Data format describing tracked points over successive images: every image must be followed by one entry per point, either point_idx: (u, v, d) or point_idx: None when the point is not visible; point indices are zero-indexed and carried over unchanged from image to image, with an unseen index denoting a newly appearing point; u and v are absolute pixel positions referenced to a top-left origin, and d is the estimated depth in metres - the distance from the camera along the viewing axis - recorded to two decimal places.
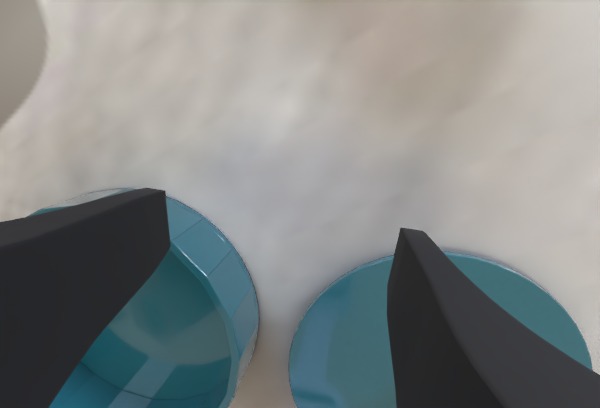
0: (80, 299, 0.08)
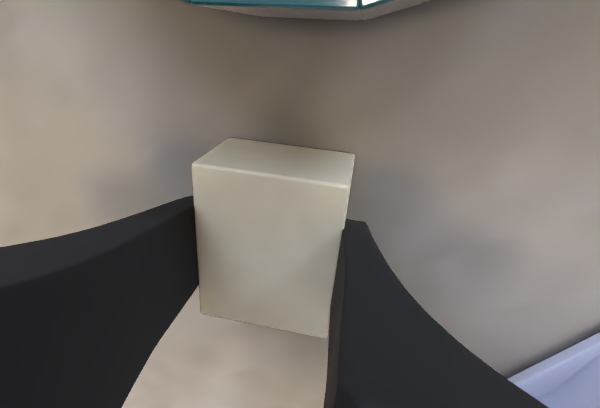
0: (141, 312, 0.08)
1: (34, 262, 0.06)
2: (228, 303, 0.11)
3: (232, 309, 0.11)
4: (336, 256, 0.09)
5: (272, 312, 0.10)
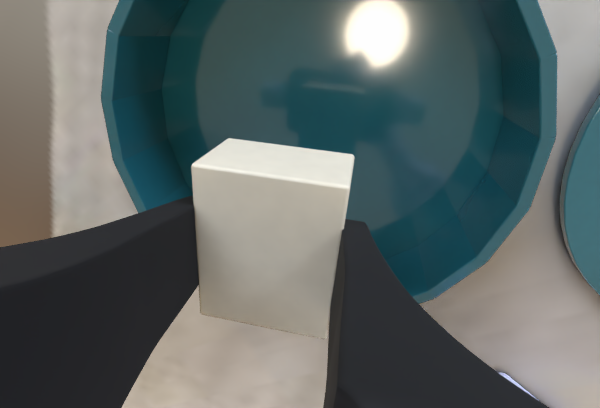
0: (141, 312, 0.08)
1: (34, 262, 0.06)
2: (228, 304, 0.11)
3: (232, 310, 0.11)
4: (336, 257, 0.09)
5: (272, 313, 0.10)
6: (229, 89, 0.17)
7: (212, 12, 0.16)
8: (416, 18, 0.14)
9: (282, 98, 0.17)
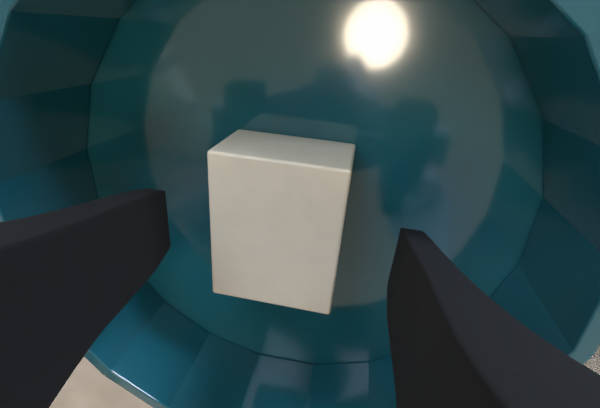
0: (80, 299, 0.08)
1: None
2: (238, 282, 0.11)
3: (243, 288, 0.11)
4: (338, 236, 0.10)
5: (279, 290, 0.11)
6: (173, 152, 0.13)
7: (143, 54, 0.11)
8: (423, 67, 0.10)
9: None
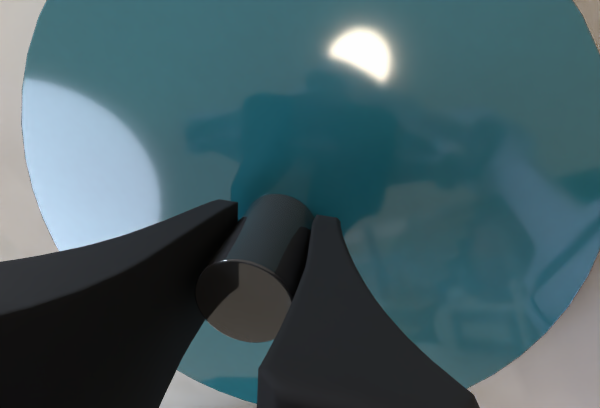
0: (174, 318, 0.08)
1: (79, 270, 0.05)
2: None
3: None
4: None
5: None
6: None
7: None
8: None
9: None
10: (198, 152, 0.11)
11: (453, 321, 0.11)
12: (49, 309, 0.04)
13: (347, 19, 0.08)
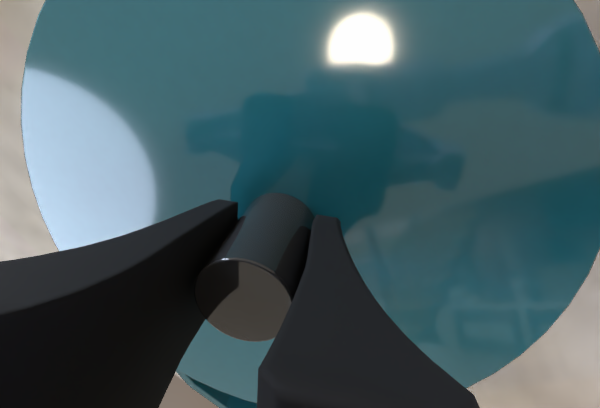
0: (174, 318, 0.08)
1: (79, 270, 0.05)
2: None
3: None
4: None
5: None
6: None
7: None
8: None
9: None
10: (198, 151, 0.11)
11: (453, 321, 0.11)
12: (49, 309, 0.04)
13: (347, 18, 0.08)
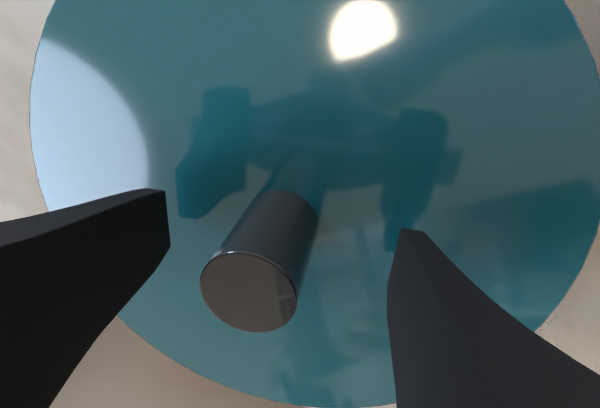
0: (80, 299, 0.08)
1: None
2: None
3: None
4: None
5: None
6: None
7: None
8: None
9: None
10: (202, 149, 0.11)
11: None
12: None
13: (347, 19, 0.09)
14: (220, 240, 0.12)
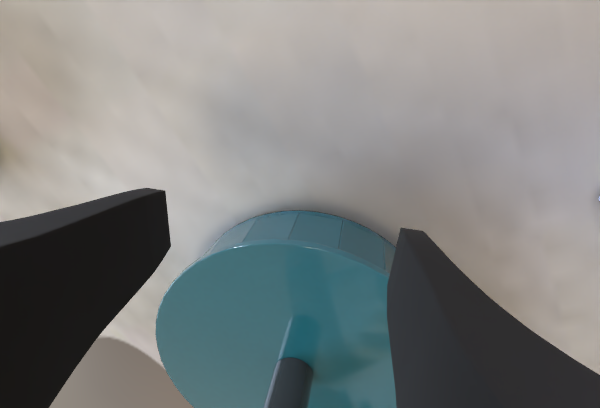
0: (80, 299, 0.08)
1: None
2: None
3: None
4: None
5: None
6: None
7: None
8: None
9: None
10: (250, 338, 0.21)
11: None
12: None
13: (320, 297, 0.18)
14: (260, 377, 0.22)
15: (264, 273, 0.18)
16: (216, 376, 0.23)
